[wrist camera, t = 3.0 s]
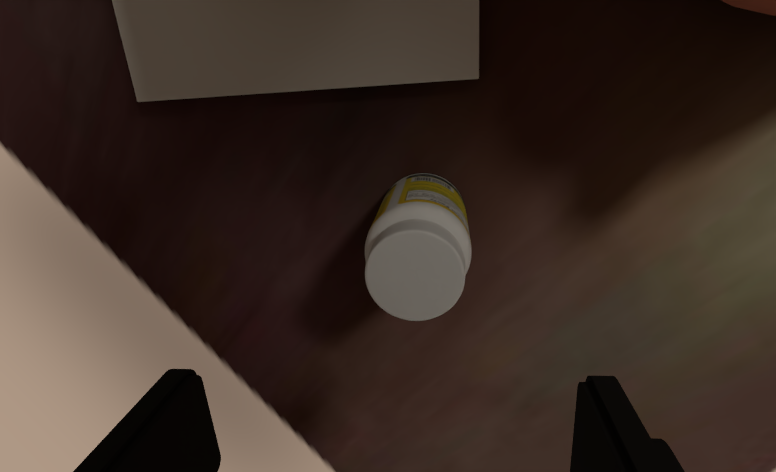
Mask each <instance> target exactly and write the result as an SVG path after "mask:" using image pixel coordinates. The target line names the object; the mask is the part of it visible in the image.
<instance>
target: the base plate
mask: <svg viewBox="0 0 776 472" xmlns="http://www.w3.org/2000/svg"><path fill="white" fill-rule="evenodd" d="M112 3H113V7H114V11H115V15H116V19H117V23H118V27H119V31H120V35H121V39H122V43H123V47H124V51H125V55H126V59H127V63H128V67H129V71H130V75H131V79H132V83H133V87H134V91H135V95H136V98H137V102H146V101H161V100H175V99H190V98H205V97H219V96H234V95H249V94H263V93H278V92H293V91H307V90H322V89H337V88H351V87H366V86H381V85H395V84H410V83H425V82H439V81H454V80H469V79H479V0H112Z"/></svg>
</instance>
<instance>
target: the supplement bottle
mask: <svg viewBox="0 0 776 472" xmlns="http://www.w3.org/2000/svg"><path fill="white" fill-rule="evenodd" d="M365 260H366V266H365V281H366V285H367V288H368V291H369V293H370V295H371V297H372V298H373V300H374V301H375V302H376V303H377V304H378V305H379V306H380V307H381V308H382V309H383V310H384V311H386V312H387V313H389V314H391V315H393V316H395V317H398V318H400V319H404V320H410V321H423V320H429V319H433V318H435V317H438V316H440V315H442V314H444V313H445V312H446V311H448V310H449V309H450V308H451V307H453V306H454V304H455V303H456V302H457V300H458V299H459V297H460V295H461V293H462V291H463V288H464V283H465V275H466V273H467V271H468V269H469V266H470V261H471V241H470V235H469V228H468V221H467V215H466V210H465V205H464V202H463V199H462V197H461V195H460V193H459V192H458V190H457V189H456V188H455V187H454V186H453V185H452V184H451V183H450V182H448V181H447V180H446V179H444V178H442V177H440V176H437V175H433V174H428V173H419V174H413V175H409V176H407V177H404V178H402V179H401V180H399V181H398V182H396V183H395V184H394V185H393V186H392V187H391V188H390V189H389V190H388V192H387V193H386V195H385V197H384V199H383V201H382V203H381V206H380V208H379V210H378V213H377V215H376V217H375V219H374V221H373V223H372V226H371V227H370V230H369V232H368V235H367V238H366V242H365Z"/></svg>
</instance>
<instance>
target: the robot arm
mask: <svg viewBox="0 0 776 472" xmlns="http://www.w3.org/2000/svg"><path fill="white" fill-rule="evenodd" d="M220 461H221V455H220V451H219V447H218V443H217V438H216V434H215V430H214V426H213V422H212V418H211V414H210V410H209V406H208V402H207V398H206V394H205V390H204V385H203V381H202V378H201V377H200V376H199V375H196V372H195V371H194V370H191V369H170V370H168V371H167V372H166V373H165V374H164V375H163V376H162V377H161V378H160V379H159V380H158V381H157V382H156V383H155V384H154V386H153V387H152V388H151V389H150V390H149V391H148V392H147V393H146V394H145V395H144V396H143V397H142V398H141V400H139V402H138V403H137V404H136V405H135V406H134V407H133V408H132V409H131V410H130V411H129V412H128V413H127V414H126V416H125V417H124V418H123V419H122V420H121V421H120V422H119V423H118V424H117V425H116V426H115V427H114V428H113V429H112V431H111V432H110V433H109V434H108V435H107V436H106V437H105V438H104V439H103V440H102V441H101V442H100V444H99V445H98V446H97V447H96V448H95V449H94V450H93V451H92V452H91V453H90V454H89V455H88V456H87V457H86V459H85V460H84V461H83V462H82V463H81V464H80V465H79V466H78V467H77V468H76V469H75V470H74V471H73V472H217V471H218V469H219V466H220ZM570 472H684V470H683V468H682V467H681V465H680V463H679V462H678V460H677V458H676V457H675V455H674V453H673V452H672V450H671V449H670V447H669V446H668V444H667V443H666V442H665V441H664V440H662V439H651V438H650V436H649V434H648V433H647V431H646V429H645V427H644V426H643V424H642V422H641V420H640V419H639V417H638V415H637V413H636V412H635V410H634V408H633V406H632V405H631V403H630V401H629V399H628V398H627V396H626V394H625V392H624V391H623V389H622V387H621V385H620V384H619V382H618V380H617V379H616V377H614V376H587V379H586V382H579V384H578V389H577V400H576V412H575V423H574V434H573V445H572V456H571V467H570Z"/></svg>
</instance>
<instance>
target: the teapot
mask: <svg viewBox="0 0 776 472" xmlns="http://www.w3.org/2000/svg"><path fill="white" fill-rule="evenodd" d="M721 1H723V2H725V3H727V4H729V5H731V6H734V7H737V8H742V9H746V10H751V11H755V12H759V13H763V14H768V15H773V16H776V0H721Z"/></svg>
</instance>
